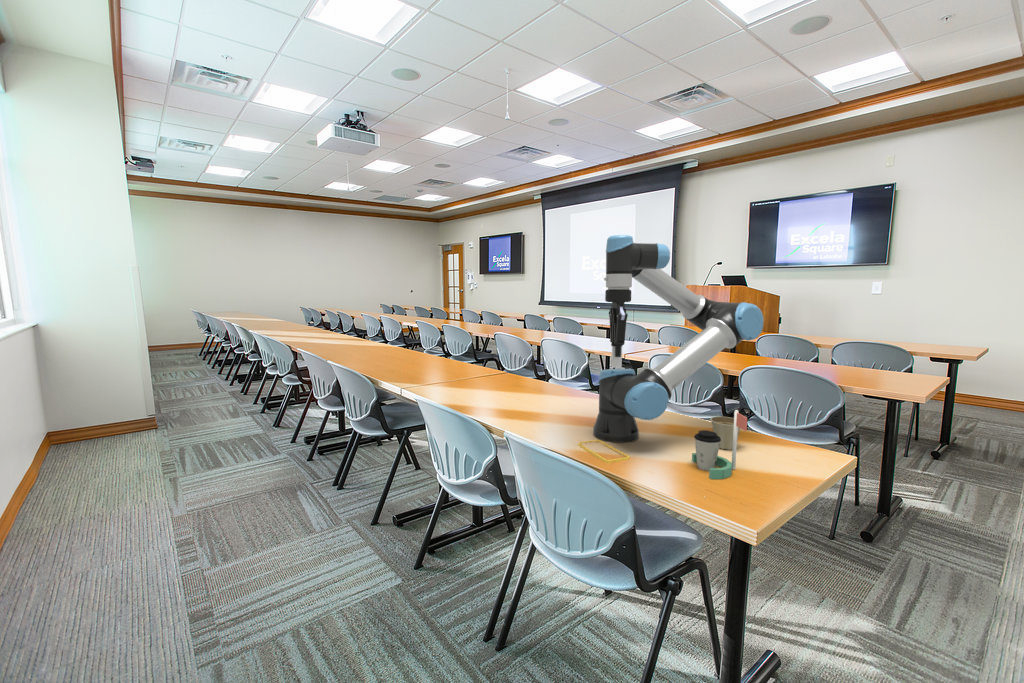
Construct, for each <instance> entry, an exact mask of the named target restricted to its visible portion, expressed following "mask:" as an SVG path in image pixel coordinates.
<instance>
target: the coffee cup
mask: <svg viewBox="0 0 1024 683" xmlns="http://www.w3.org/2000/svg"><path fill="white" fill-rule="evenodd" d="M693 438H694V443H695V453H696V457H697V463H696V467H697V468H698V469H699V470H701V469H702V470H701V471H704V470H705V472H709V468H716V467H717V466H716V461H717V456H719V450H720V448H719V445H720V441H721V438H720V437H719V436H717V433H715V432H713V430H712V431H710V430H706V429H705V430H702V429H701V430H699V431H698V433H695V435H694V436H693Z"/></svg>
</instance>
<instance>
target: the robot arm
mask: <svg viewBox="0 0 1024 683" xmlns="http://www.w3.org/2000/svg"><path fill="white" fill-rule="evenodd" d="M670 258H671V252H670V249H669V247H668V246H667V245H666V244H664V243H641V242H640V243H637V242H634V238H633V236H632V235H629V234H616V235H610V236H608V238H607V240H606V248H605V272H606V273H605V277H604V278H603V281H605V288H607V289H606V290H605V295H604V297H605V298H604V299H605V302H606V303H611V307H610V308H609V312H608V316H609V317H608V318H609V337H610V338H609V342H610V343H611V344H610V346H611V367H612V368H608V369H602V370H601V371H600V373H599V379H598V383H599V384H598V385H599V386H598V388H599V389H598V414H597V417H596V420H595V423H594V425H593V430H592V431H593V434H592V435H593V436H594V437H595V438H597V439H598V440H601V441H605V442H612V443H630V442H634V441H636V440H638V439H639V435H640V434H639V432H640V431H639V427H638V424H637V421H636V418H637V419H640V420H644V421H651V420H654V419H657V418H659V417H660V416H661V415H662V414H664V413H665V412H666V409H667V408H668V407H667V405H668V404H669V402H670V401H669V400H670V399H671V398H672V396H673V395H672V394H673V392H672V391H673V390H675V388H677V387H678V386H680V384H682V383H683V382H684V381H685V380H687V379H688V378H689V377H690V376H692V375H693V374H694V373H696V371H698V370H699V369H701V368H702V367H703V366H704V365H705V364H706V363H708V362H709V361H710V360H712V359H713V358H714V357H715V356H716V355H718V354H719V353H721V351H724V349H734V348H735V347H736V346H737V345H739V344H740V343H741V342H742V341H747V342H748V341H753V340H755V339H757V338H758V337H760V335H761V334H762V331H763V329H764V321H765V318H764V316H763V313H762V310H761V309H760V308H759V306H757V305H756V304H754V303H748V302H727V301H725V302H724V301H715V300H712V299H709V298H707V297H705V296H704V295H703V294H696V293H695V292H693V291H691V290H690V289H689V288H688V287H686V286H685V285H684V284H682V283H680V282H679V281H678V280H677V279H675V278H674V277H672V276H671V275H670V274H669V273H667V272H665V271H664V270H662V269H665V268H666V267H667V265H668V264H669V262H670ZM633 279H634V280H635V281H637V282H638V283H640V284H641V285H642V286H644V287H645V288H647V289H648V290H650V291H651V292H652V293H654V294H655V295H657V296H658V297H659V298H660V299H662V300H663V301H666V302H667V303H668V304H669V305H671V306H672V307H673V308H675V309H676V310H677V311H679V312H681V316H682V317H683V318H684V319H685V320H686V321H688V322H689V323H691V324H693V325H694V326H695V327H696V328H699V329H700V330H701V331H700V332H699V333H698V334H696V335H695V336H694V337H692V338H691V339H689V340H688V341H687V342H685V344H684V345H682V346H681V347H680V348H678V349H677V350H675V351H674V352H673V353H671V355H669V356H668V357H666V358H665V359H664V360H663V361H661V363H659V364H658V365H656V366H655V367H654V368H649V367H647V368H645V369H643V370H642V371H641V372H639V373H638V374H637V375H636V371H635V369H633V368H623V367H622V366H623V364H622V363H623V362H622V360H623V346H624V345H625V343H626V342H625V341H626V328H627V322H628V321H627V320H628V317H629V315H628V313H627V308H626V306H625V304H626V303H630V302H632V290H631V289H630V288H632V285H633V284H632V283H633Z"/></svg>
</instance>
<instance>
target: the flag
mask: <svg viewBox="0 0 1024 683" xmlns="http://www.w3.org/2000/svg"><path fill="white" fill-rule="evenodd" d="M733 414H734V416H733V418H734V430H733V448H732V450H731V452H732V453H731V463H732V470H733V471H734V470H736V465H737V446H738V440H737V432H738V427H739V428H741V429H740V430H743V431H744V432H747V430H748V417H746V416H745V415H743V414H742V413H739V409H735V410H734V413H733Z"/></svg>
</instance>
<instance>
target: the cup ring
mask: <svg viewBox="0 0 1024 683" xmlns="http://www.w3.org/2000/svg"><path fill="white" fill-rule="evenodd" d="M692 461H693V462H697V457H696V452H692V453H691V462H692ZM693 462H692V463H693ZM721 467H722V468H721ZM732 470H733V469H732V461H730V460H729V459H727V458H726V457H722V456H720V455H718V456H717V461H716V466H715V468H709V471H708V478H709V479H710V480H725V479H727V477H728V478H730V476H731V477H732V472H733V471H732ZM724 478H725V479H724Z"/></svg>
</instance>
